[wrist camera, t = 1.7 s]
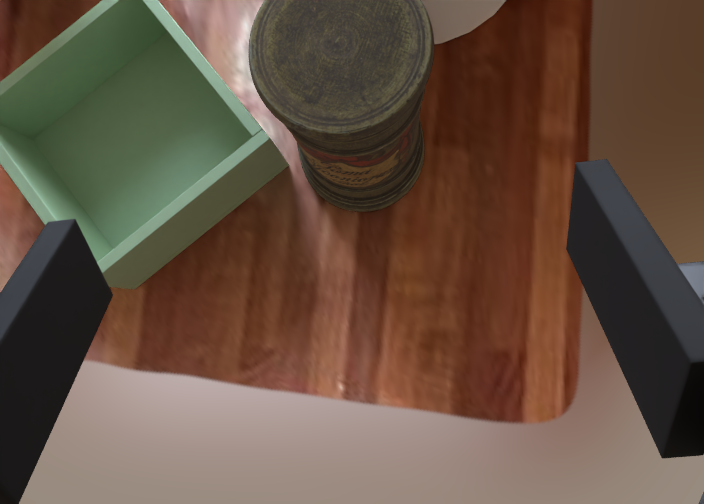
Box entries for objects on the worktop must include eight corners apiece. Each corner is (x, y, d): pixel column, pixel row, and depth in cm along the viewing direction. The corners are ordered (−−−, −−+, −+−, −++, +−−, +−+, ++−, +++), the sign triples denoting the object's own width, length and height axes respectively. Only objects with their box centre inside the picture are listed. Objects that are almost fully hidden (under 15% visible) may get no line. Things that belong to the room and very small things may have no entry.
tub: (24, 141, 47) (-38, 111, 40) (173, 22, 47) (135, -28, 40) (134, 290, 45) (88, 284, 38) (289, 165, 45) (270, 138, 39)
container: (301, 95, 46) (239, -49, 28) (423, 91, 45) (438, -58, 27) (300, 214, 45) (235, 144, 27) (424, 212, 44) (442, 139, 26)
